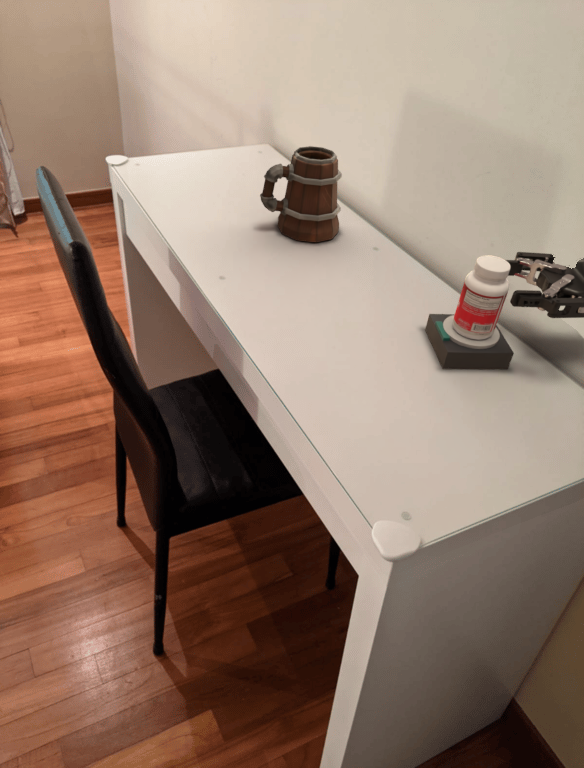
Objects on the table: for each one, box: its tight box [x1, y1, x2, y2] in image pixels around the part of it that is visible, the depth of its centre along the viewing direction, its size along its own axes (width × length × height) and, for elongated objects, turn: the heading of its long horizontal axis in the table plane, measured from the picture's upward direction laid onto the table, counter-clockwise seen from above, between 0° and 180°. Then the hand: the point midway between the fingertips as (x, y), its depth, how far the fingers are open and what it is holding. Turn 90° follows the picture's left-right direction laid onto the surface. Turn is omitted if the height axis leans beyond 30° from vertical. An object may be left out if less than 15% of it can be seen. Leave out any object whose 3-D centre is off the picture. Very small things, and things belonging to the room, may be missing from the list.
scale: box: [424, 313, 515, 370], centre depth 92 cm, size 10×10×4 cm
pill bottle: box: [453, 254, 510, 340], centre depth 88 cm, size 6×6×11 cm
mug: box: [259, 145, 343, 243], centre depth 116 cm, size 16×12×15 cm
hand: (501, 282), depth 86 cm, fingers open, 8 cm apart
